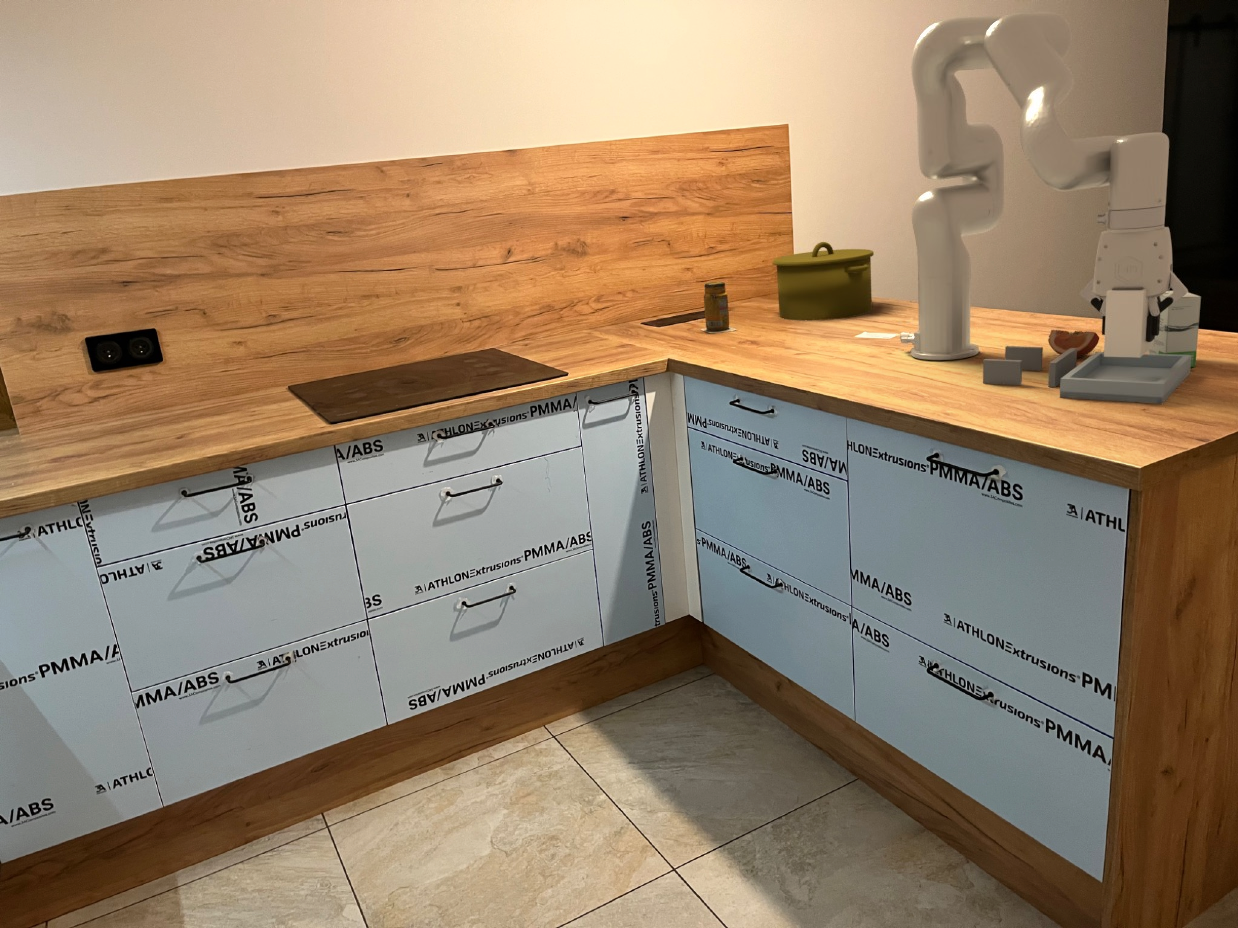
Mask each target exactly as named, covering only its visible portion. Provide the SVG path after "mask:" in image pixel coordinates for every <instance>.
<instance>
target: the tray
mask: <svg viewBox="0 0 1238 928" xmlns="http://www.w3.org/2000/svg"><path fill="white" fill-rule="evenodd" d="M1191 368H1192V367H1191V355H1172V354H1148V353H1145V354H1144V355H1143V356H1141V357H1140V358H1137V357H1104V351H1096V352H1094V353H1092V354H1091V355H1090V356H1088V358H1086V359H1085V360H1083V361H1082V362H1080V363H1079V364H1078V365H1076V367H1075V368H1074V369H1073V370H1071V371H1070V372H1069V373H1067V374H1066V375H1065V376H1063V377H1062V378H1061V381H1060V384H1059V386H1060V387H1059V398H1063V399H1078V400H1094V401H1095V400H1097V401H1106V402H1107V401H1109V402H1122V403H1123V402H1125V403H1141V404H1142V403H1143V404H1153V405H1154V404H1156V405H1157V404H1158V405H1162V404H1164V402H1165V401H1167V400H1168V398H1169V397H1170V396H1171V395H1172V394H1173V393H1174V392H1175V391H1176V390H1177V388H1178V387H1179V386H1180V385H1182V383H1183V382H1184V381H1185V380H1186V379H1187V377H1188V376H1189V375H1190V374H1191Z"/></svg>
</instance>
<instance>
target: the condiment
mask: <svg viewBox="0 0 1238 928" xmlns="http://www.w3.org/2000/svg"><path fill="white" fill-rule="evenodd" d="M728 298H729V297H728V293H727V292H726V283H725V282H724V281H712V282H706V283H704V294H703V305H704V306H703V307H704V319H705V327H706V328H701V329H700V330H701V331H702V332H706V333H708V334H718V333H721V334H722V333H727V332H733V331H737V330H738V329H737V328H734V327H731V326H730V311H729V299H728Z"/></svg>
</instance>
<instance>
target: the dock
mask: <svg viewBox="0 0 1238 928" xmlns="http://www.w3.org/2000/svg"><path fill="white" fill-rule="evenodd" d="M1004 350H1005V351H1004V353H1005V354H1004V359H1000V358H999V359H997V358H985V359H983V362H982V364H983V365H982V376H983V377H982V383H983V384H989V385H991V384H993V385H1006V386H1007V385H1008V386H1021V385H1023V384H1022V382H1023V371H1031V372H1032V371H1033V372H1035V371H1036V372H1041V371H1043V355H1044V354H1043V353H1044V352H1043V351H1044V347H1043V346H1019V345H1017V346H1016V345H1006V346H1005V349H1004ZM1077 359H1078V358H1077V348H1070V349H1068V350H1067V351H1066V352H1064V353H1063V354H1061V355H1060V354H1059V356H1057V357H1056V358H1054V359H1053V360H1051V361H1050V362H1049V363H1048V384H1047V385H1048V388H1056V387H1058V386H1060V381H1061V378H1062V377H1063V376H1065V375H1066V374H1067V373H1069V372H1070V371H1071V370H1073V369H1074V368H1075V367H1077Z"/></svg>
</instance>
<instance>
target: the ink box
mask: <svg viewBox="0 0 1238 928" xmlns="http://www.w3.org/2000/svg"><path fill="white" fill-rule="evenodd" d="M1172 293H1173V290H1168V291H1166V292H1165V293H1164V294H1163V295H1160V297H1161V301H1163V300H1164V299H1165V298H1167V297H1168V296H1169V295H1171V294H1172ZM1201 299H1202V296H1200V295H1198V294H1194V293H1191V292H1188V293H1187V294H1185V295H1184V296H1183V297H1181V298H1180V299H1178V300H1177V301H1175V302H1174V303H1172V304H1171V305H1170V306H1169V307H1167V308H1166V309H1165V310H1164V311H1163V312H1161V313H1160V328H1159V335H1158V336H1155V339H1154V346H1153V347H1152V348H1151V349H1150V350H1149V351H1147V354H1172V355H1191V367H1190V368H1196V366H1197V365H1196V364H1197V350H1198V340H1199V339H1198V338H1199V337H1198V336H1199V328H1200V327H1199V325H1200V312H1201V311H1200V310H1201V301H1202V300H1201Z"/></svg>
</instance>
